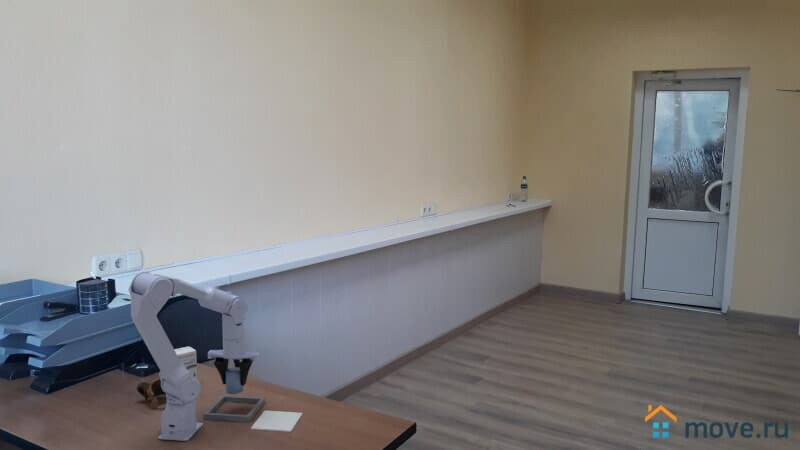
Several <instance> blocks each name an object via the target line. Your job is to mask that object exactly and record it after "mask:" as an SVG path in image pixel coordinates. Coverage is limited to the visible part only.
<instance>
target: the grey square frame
mask: <svg viewBox="0 0 800 450" xmlns="http://www.w3.org/2000/svg"><path fill="white" fill-rule="evenodd" d="M224 403H242V404H255V405H254V406H253V407H252V408H251V410H250V411H249V412H248V413H247V414H233V413H218V412H216V411H217V410H219V408H220V407H221V406H222V405H223V404H224ZM265 404H266V397H257V396H241V395H226V394H225V395H224V394H223V395H221V396H220V397H219V398H218V399H217V400H216V401H215V402H214V403H213V404H212V405H211V406H210V407H209V408H208V409H207V410H206V411H205V412H204V413H203V420H209V421H223V420H227V421H226V422H239V423H240V422H241V423H250V422H251V421H252V420H253V418H254V417H256V414H257V413H258V412H259V411H260V409H261V408H262V407H263V405H265Z"/></svg>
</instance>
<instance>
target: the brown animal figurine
mask: <svg viewBox="0 0 800 450" xmlns="http://www.w3.org/2000/svg"><path fill="white" fill-rule="evenodd" d="M136 391H137V392H138V393H139V394H140V395H141V396H142V397H143V398H144V400H145V401H147V400H149V399H150V400H151V403H150V408H152V409H155V410H156V409H158V407H161V406H164V405H167V398H166V393H165V392H164V391H163V390H162V388H161V379H160V377H158V378H155V379H154V380H152V381H150V383H149V382H145V381H141V382H139V383H138V384H137V387H136Z"/></svg>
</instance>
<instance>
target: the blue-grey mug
mask: <svg viewBox="0 0 800 450" xmlns="http://www.w3.org/2000/svg"><path fill="white" fill-rule="evenodd" d="M225 375H226V384H225V392H226V394H228V395H237V394H241V393H242V392H243V391H244V386H241V372H240V367H239V366H238V367H237V366H235V367H228V369H227V370H226V371H225Z"/></svg>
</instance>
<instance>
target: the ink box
mask: <svg viewBox="0 0 800 450" xmlns="http://www.w3.org/2000/svg"><path fill="white" fill-rule="evenodd" d="M174 350H175V352H176V354H177V356H178V358H179V360H180V362H181V363H182V365H183V366H184V367H185V368H186V369H187V370H188V371H189V372H190V373H191V375H192V376H193V377H194V378H196V379H197V380H198V369H197V368H198V365H197V364H198V363H197V361H198V360H197V350H196V349H194V348H193V347H191V346H185V347H180V348H179V347H178V348H175V349H174Z"/></svg>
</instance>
